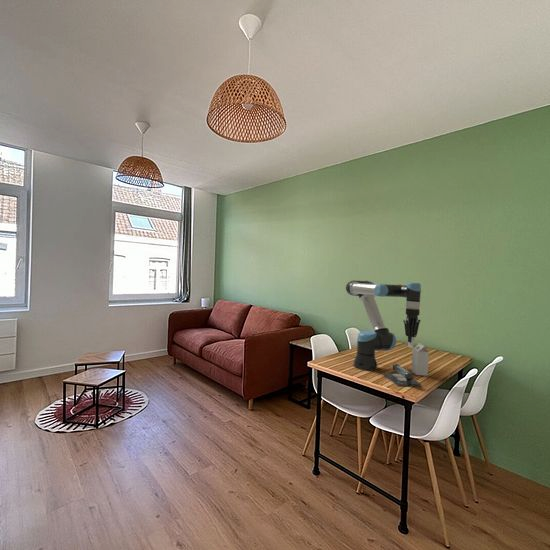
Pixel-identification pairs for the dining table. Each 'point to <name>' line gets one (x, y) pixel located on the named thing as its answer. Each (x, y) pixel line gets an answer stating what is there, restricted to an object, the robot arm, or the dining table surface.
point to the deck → (401, 380)
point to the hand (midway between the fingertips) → (410, 347)
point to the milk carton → (420, 360)
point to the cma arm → (403, 371)
